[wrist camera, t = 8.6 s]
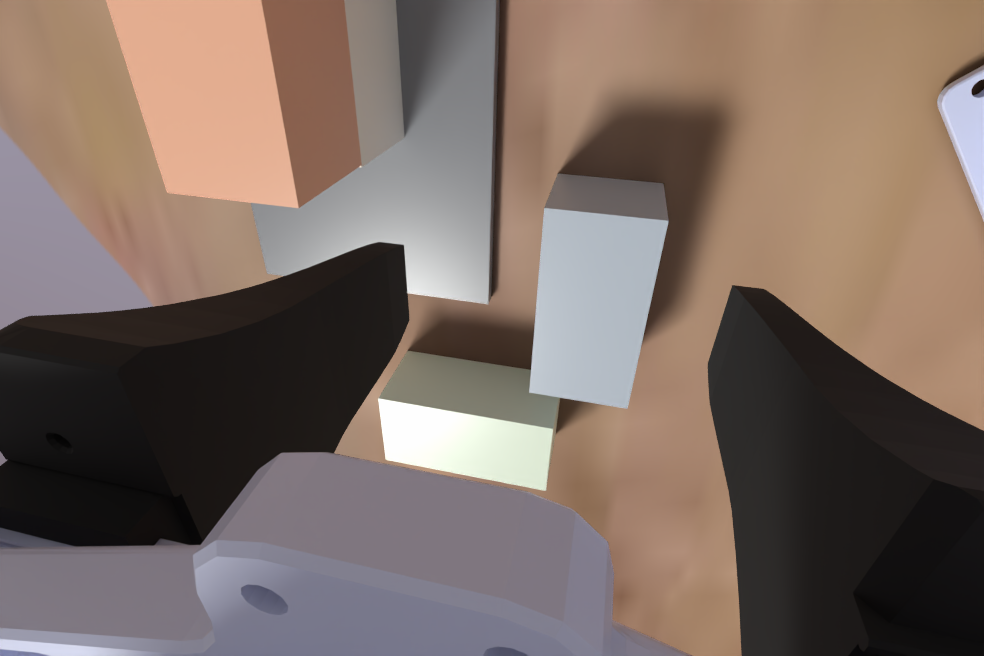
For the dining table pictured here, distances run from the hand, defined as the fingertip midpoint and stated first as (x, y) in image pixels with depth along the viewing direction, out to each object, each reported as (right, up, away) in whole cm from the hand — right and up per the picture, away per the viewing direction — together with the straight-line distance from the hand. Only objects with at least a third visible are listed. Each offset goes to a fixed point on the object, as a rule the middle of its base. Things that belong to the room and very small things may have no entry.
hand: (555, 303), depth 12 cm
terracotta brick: (-8, +8, +4) cm, 12 cm away
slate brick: (+3, +2, +11) cm, 11 cm away
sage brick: (-2, -4, +16) cm, 17 cm away
